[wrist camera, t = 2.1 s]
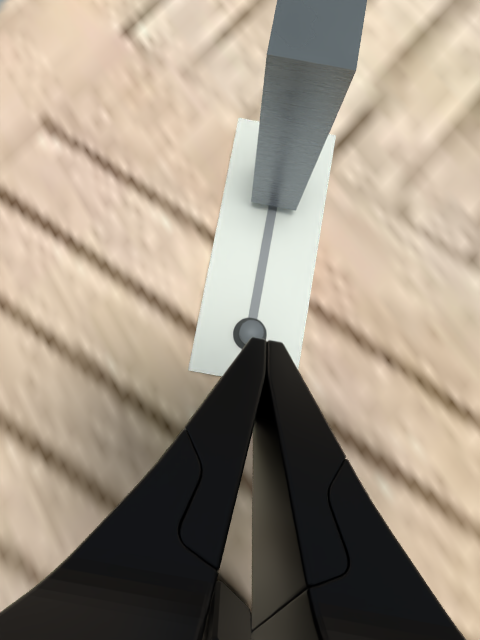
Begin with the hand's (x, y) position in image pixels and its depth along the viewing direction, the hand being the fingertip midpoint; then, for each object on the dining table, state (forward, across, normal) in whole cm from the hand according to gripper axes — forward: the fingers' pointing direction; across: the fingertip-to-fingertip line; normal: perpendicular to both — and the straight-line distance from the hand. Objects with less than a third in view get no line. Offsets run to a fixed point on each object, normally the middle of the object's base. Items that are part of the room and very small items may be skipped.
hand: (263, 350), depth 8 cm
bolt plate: (+14, 0, +4) cm, 15 cm away
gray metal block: (+16, 0, 0) cm, 16 cm away
